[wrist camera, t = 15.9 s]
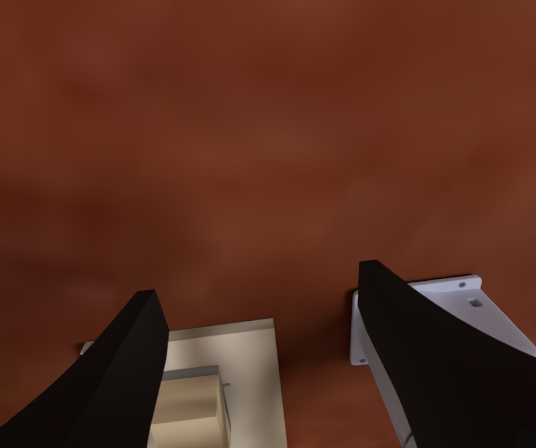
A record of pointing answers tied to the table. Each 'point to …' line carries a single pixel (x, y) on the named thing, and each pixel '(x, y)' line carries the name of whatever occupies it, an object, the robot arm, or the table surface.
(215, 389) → the block
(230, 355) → the birch board
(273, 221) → the table surface
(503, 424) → the robot arm
